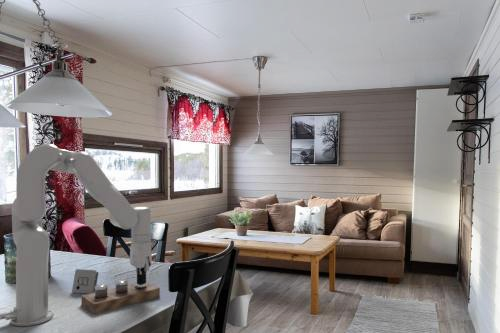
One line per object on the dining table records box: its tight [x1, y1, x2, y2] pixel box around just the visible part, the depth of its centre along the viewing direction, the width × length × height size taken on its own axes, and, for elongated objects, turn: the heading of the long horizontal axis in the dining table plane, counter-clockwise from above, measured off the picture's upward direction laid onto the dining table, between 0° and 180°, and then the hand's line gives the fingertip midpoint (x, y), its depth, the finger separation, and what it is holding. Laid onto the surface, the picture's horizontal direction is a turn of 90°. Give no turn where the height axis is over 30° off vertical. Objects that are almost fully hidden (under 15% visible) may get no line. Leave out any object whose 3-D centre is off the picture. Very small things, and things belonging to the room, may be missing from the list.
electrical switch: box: [71, 268, 99, 294], centre depth 160 cm, size 9×5×9 cm, turn 78°
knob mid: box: [115, 279, 129, 294], centre depth 149 cm, size 4×4×4 cm
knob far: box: [134, 282, 146, 289], centre depth 154 cm, size 4×4×4 cm
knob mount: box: [80, 281, 161, 315], centre depth 149 cm, size 26×12×4 cm, turn 134°
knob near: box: [94, 283, 109, 299], centre depth 143 cm, size 4×4×4 cm
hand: (141, 283), depth 155 cm, fingers closed
